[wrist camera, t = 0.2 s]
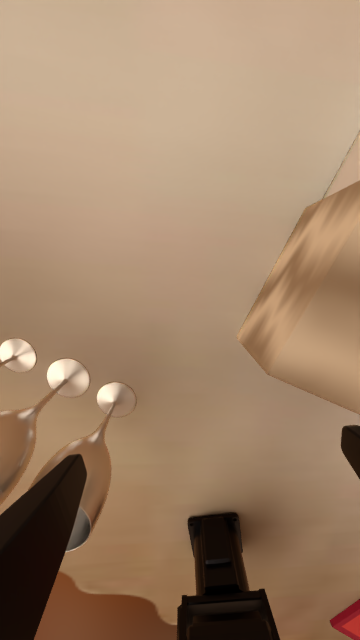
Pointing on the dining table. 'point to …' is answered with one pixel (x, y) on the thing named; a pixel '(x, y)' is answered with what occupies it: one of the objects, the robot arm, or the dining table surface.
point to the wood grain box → (314, 304)
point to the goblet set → (20, 437)
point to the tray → (347, 170)
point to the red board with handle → (348, 621)
